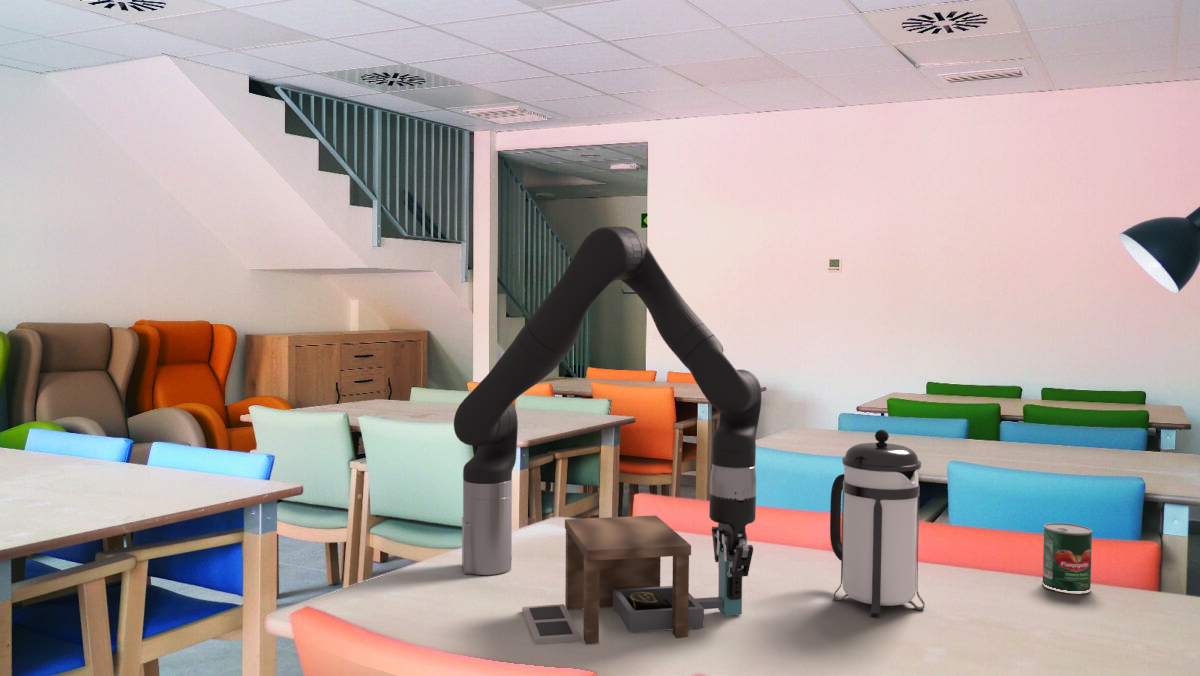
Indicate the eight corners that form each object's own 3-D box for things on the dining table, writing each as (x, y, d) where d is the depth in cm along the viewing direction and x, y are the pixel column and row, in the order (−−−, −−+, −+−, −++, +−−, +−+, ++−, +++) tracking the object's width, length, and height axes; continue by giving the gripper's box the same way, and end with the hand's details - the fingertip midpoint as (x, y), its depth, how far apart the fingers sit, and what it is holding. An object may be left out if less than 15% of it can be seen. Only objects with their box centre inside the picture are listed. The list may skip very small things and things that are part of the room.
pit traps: (534, 644, 140) (534, 638, 140) (522, 611, 155) (522, 606, 155) (580, 641, 142) (580, 635, 142) (563, 608, 156) (564, 603, 156)
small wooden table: (587, 646, 139) (587, 550, 139) (564, 603, 159) (564, 519, 158) (690, 639, 143) (691, 545, 142) (655, 598, 162) (656, 515, 162)
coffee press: (929, 596, 165) (933, 426, 163) (919, 624, 150) (923, 438, 149) (829, 582, 172) (832, 420, 171) (810, 608, 157) (813, 431, 156)
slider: (629, 632, 145) (630, 568, 145) (612, 607, 157) (613, 547, 156) (751, 623, 149) (752, 561, 149) (726, 599, 161) (727, 542, 160)
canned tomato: (1062, 579, 175) (1063, 520, 175) (1100, 591, 168) (1102, 530, 168) (1032, 584, 172) (1034, 525, 171) (1070, 597, 165) (1072, 535, 164)
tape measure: (674, 624, 150) (675, 601, 150) (634, 628, 148) (634, 605, 147) (659, 610, 156) (659, 588, 156) (620, 614, 154) (620, 592, 154)
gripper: (697, 483, 160) (695, 583, 161) (725, 501, 146) (722, 610, 147) (739, 482, 161) (736, 581, 162) (770, 500, 148) (767, 608, 148)
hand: (730, 595), depth 154 cm, fingers closed on slider, 3 cm apart
